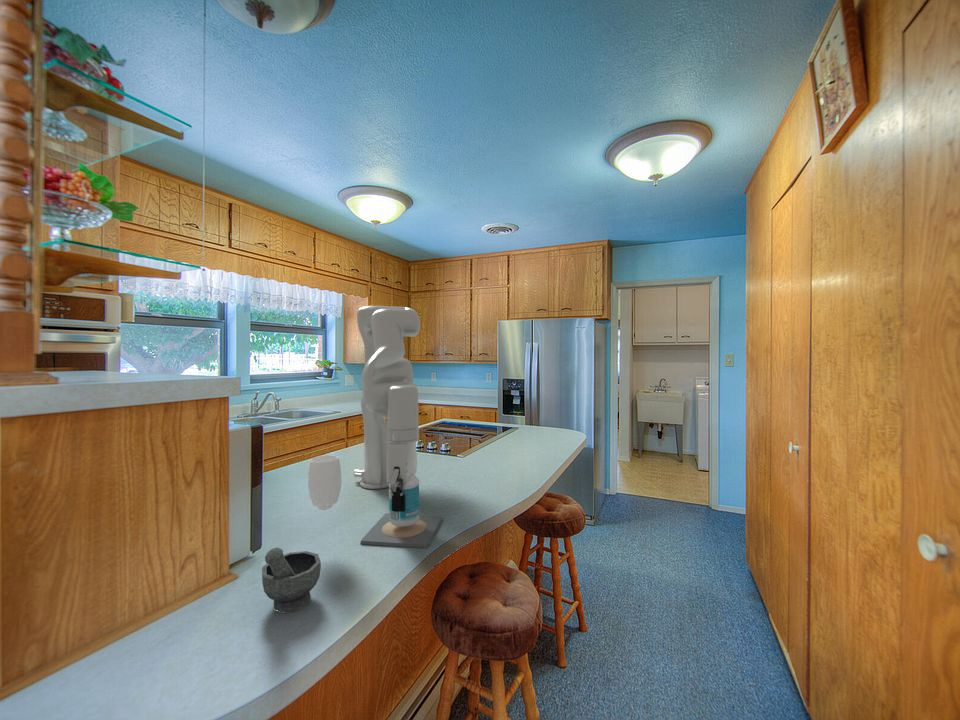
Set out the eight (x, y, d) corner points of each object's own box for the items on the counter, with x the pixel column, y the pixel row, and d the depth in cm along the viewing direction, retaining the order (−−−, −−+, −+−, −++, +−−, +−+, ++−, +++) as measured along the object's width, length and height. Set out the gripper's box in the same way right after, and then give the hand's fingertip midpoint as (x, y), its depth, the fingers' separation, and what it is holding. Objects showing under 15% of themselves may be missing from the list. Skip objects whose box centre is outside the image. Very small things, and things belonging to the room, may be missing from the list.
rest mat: (360, 544, 95) (360, 540, 95) (385, 516, 111) (385, 512, 111) (427, 548, 93) (427, 544, 93) (442, 519, 109) (442, 515, 109)
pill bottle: (422, 516, 105) (422, 464, 105) (415, 528, 98) (414, 472, 98) (394, 514, 106) (394, 463, 106) (385, 527, 99) (384, 472, 98)
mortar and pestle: (284, 584, 79) (282, 523, 78) (330, 587, 78) (329, 525, 77) (244, 623, 68) (242, 552, 67) (297, 627, 67) (295, 555, 66)
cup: (322, 559, 88) (320, 464, 88) (301, 551, 92) (300, 460, 91) (349, 546, 94) (348, 457, 94) (328, 538, 98) (327, 453, 97)
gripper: (400, 427, 111) (400, 491, 111) (375, 442, 93) (376, 518, 94) (427, 428, 110) (427, 493, 110) (407, 443, 92) (407, 519, 93)
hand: (404, 504), depth 102 cm, fingers closed on pill bottle, 7 cm apart
